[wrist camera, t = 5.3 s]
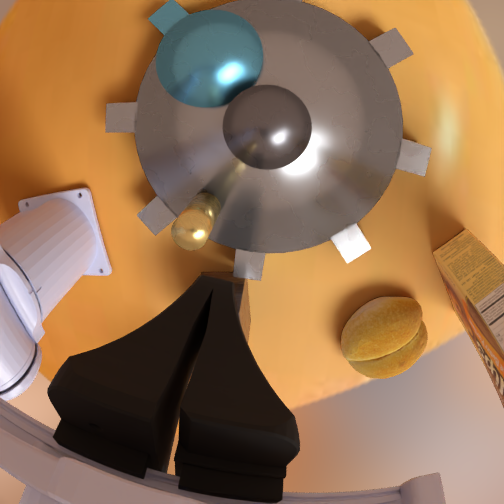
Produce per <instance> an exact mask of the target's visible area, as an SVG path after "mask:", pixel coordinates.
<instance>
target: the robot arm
mask: <svg viewBox="0 0 504 504" xmlns="http://www.w3.org/2000/svg"><path fill="white" fill-rule="evenodd" d="M80 193H81V194H82V197H81V196H80ZM28 204H29V205H28ZM18 206H19V210H20V212H19V213H17V214H16V215H14V216H13V217H11V218H10V219H8V220H7V221H5V222H4V223H2V224H1V225H0V467H1V468H2V469H4V470H5V471H6V472H8V473H9V474H11V475H12V476H13V477H15V478H16V479H18V480H19V481H21V482H23V483H24V484H26V487H25V489H24V492H23V495H22V497H21V500H20V503H19V504H446V503H445V497H444V492H443V487H442V482H441V477H440V474H439V473H433V474H429V475H424V476H419V477H416V478H412V479H410V480H408V481H406V482H404V483H403V484H402V485H401V486H395V487H388V488H381V489H372V490H362V491H350V492H328V493H297V492H295V493H294V492H283V479H284V478H285V477H286V466H287V465H288V464H289V463H290V462H291V461H292V460H293V459H294V458H295V457H296V456H297V454H298V452H299V451H300V440H299V433H298V428H297V424H296V420H295V416H294V415H293V414H292V413H291V411H290V410H289V409H288V408H287V407H286V406H285V404H284V403H283V402H282V401H281V399H280V398H279V397H278V396H277V394H276V393H275V391H274V390H273V389H272V387H271V386H270V384H269V383H268V381H267V380H266V378H265V376H264V375H263V373H262V371H261V370H260V368H259V366H258V365H257V363H256V361H255V359H254V357H253V355H252V352H251V350H250V348H249V346H248V343H247V341H246V338H245V335H244V333H243V330H242V327H241V323H240V320H239V316H238V311H237V307H236V301H235V284H234V283H233V282H231V281H227V280H222V279H218V278H214V277H209V276H205V275H201V276H199V277H198V278H197V280H196V281H195V282H194V283H193V284H192V285H191V286H190V287H189V288H188V289H187V290H186V291H185V292H184V293H183V294H182V295H181V296H180V297H179V298H178V299H177V300H176V301H175V302H174V303H172V304H171V305H170V306H169V307H167V308H166V309H165V310H164V311H163V312H161V313H160V314H159V315H157V316H156V317H155V318H153V319H152V320H150V321H149V322H147V323H146V324H144V325H143V326H141V327H140V328H138V329H136V330H134V331H133V332H131V333H129V334H127V335H125V336H124V337H122V338H120V339H117V340H115V341H113V342H111V343H108V344H106V345H104V346H101V347H99V348H96V349H93V350H90V351H87V352H84V353H80V354H77V355H73V356H70V357H69V358H68V359H67V360H66V361H65V363H64V364H63V365H62V366H61V368H60V369H59V370H58V372H57V374H56V375H55V377H54V379H53V380H52V382H51V384H50V385H49V388H48V392H47V393H48V396H49V399H50V401H51V403H52V404H53V406H54V408H55V409H56V411H57V413H58V414H59V416H60V418H61V421H60V423H59V425H58V427H57V429H56V430H54V429H52V428H50V427H48V426H46V425H44V424H42V423H41V422H39V421H37V420H35V419H33V418H32V417H30V416H28V415H27V414H25V413H23V412H22V411H20V410H19V409H17V408H16V407H14V406H12V405H10V404H9V403H8V402H6V400H11V399H13V398H15V397H17V396H19V395H20V394H22V393H23V392H24V391H25V390H26V389H27V388H28V387H29V386H30V385H31V384H32V382H33V381H34V379H35V377H36V375H37V373H38V370H39V367H40V364H41V360H42V351H41V348H40V346H39V344H38V342H39V340H40V339H41V338H42V336H43V335H44V334H45V331H44V330H43V328H42V325H41V323H42V322H43V321H44V319H45V318H46V317H47V316H48V314H49V313H50V312H51V311H52V310H53V308H54V307H55V306H56V305H57V304H58V302H59V301H60V300H61V299H62V298H63V297H64V295H65V294H66V293H67V292H68V291H69V290H70V288H71V287H72V286H73V285H74V284H75V283H76V282H77V280H78V279H79V278H80V277H81V276H82V275H110V274H111V272H112V268H111V265H110V262H109V259H108V256H107V252H106V249H105V245H104V242H103V239H102V235H101V231H100V228H99V224H98V220H97V216H96V212H95V208H94V204H93V200H92V195H91V192H90V190H89V189H88V188H86V187H84V188H78V189H73V190H67V191H62V192H56V193H51V194H46V195H41V196H36V197H32V198H27V199H22V200H20V201H19V202H18ZM101 269H102V270H103V271H102V270H101ZM192 371H193V372H192ZM191 374H192V375H191ZM190 377H191V378H190ZM189 379H190V381H189ZM188 382H189V383H188ZM187 385H188V386H187ZM186 388H187V389H186ZM178 420H179V441H178V445H177V449H176V453H175V457H174V461H175V475H171V474H167V470H168V465H169V460H170V455H171V451H172V446H173V442H174V437H175V433H176V428H177V424H178Z"/></svg>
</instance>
